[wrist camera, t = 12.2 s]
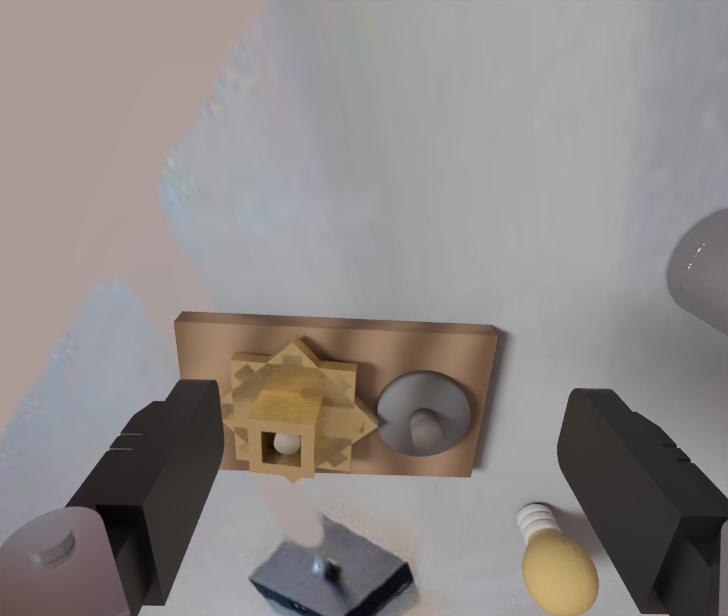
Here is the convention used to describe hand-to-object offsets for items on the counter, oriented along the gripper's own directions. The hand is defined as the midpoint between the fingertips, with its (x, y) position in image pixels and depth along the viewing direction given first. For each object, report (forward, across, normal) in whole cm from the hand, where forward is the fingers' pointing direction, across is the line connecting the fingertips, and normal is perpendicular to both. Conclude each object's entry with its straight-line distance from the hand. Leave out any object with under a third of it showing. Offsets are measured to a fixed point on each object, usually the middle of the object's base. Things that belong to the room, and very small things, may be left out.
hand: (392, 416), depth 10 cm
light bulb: (+27, -18, +32) cm, 45 cm away
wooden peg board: (+26, +2, +17) cm, 31 cm away
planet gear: (+24, +6, +17) cm, 30 cm away
